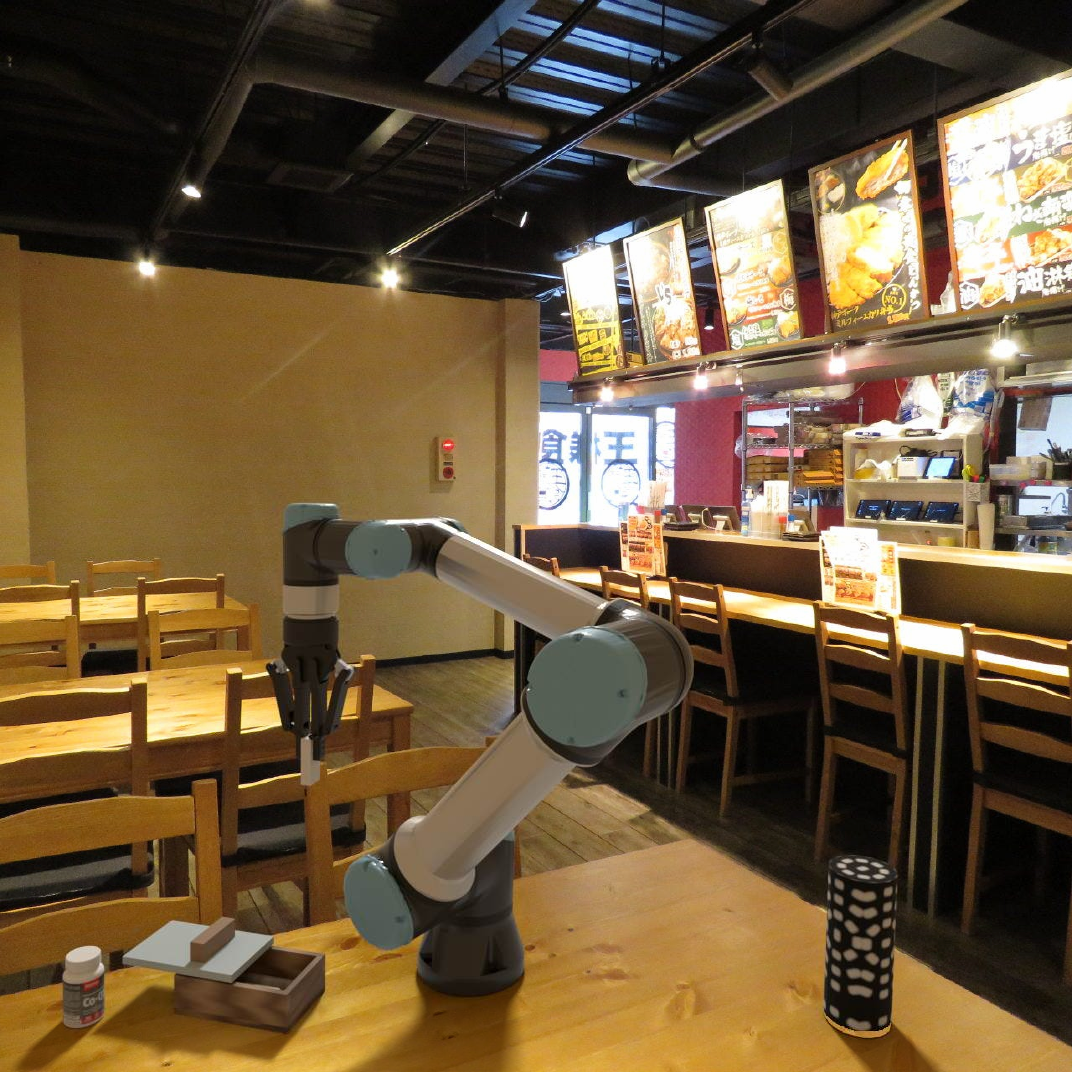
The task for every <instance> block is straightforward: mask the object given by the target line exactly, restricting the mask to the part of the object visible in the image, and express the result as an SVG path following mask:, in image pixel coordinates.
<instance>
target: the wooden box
mask: <svg viewBox="0 0 1072 1072" xmlns="http://www.w3.org/2000/svg"><path fill="white" fill-rule="evenodd" d="M173 979H174V980H173V983H174V985H173V987H174V988H173V989H174V990H173V991H174V993H173V994H174V995H173V999H174V1003H173V1004H174V1006H173V1007H174V1010H173V1011H174V1012H173V1013H174V1014H178V1015H184V1016H189V1017H193V1018H194V1017H195V1018H198V1019H205V1020H209V1021H213V1022H214V1021H215V1022H219V1023H220V1022H221V1023H226V1024H232V1025H236V1026H241V1027H243V1026H244V1027H246V1028H252V1029H258V1030H262V1031H267V1032H272V1033H273V1032H274V1033H279V1034H285V1035H287V1034H288V1033H289V1032H291V1030H292V1029H293V1028H294V1026H295V1025H296V1024H297V1023H298V1022H299V1020H300V1019H301V1018H302V1017H303V1016H304V1015H305V1014H306V1013H307V1012H308V1010H309V1009H310V1008H311V1007H312V1006H313V1004H315V1003H316V1001H317V1000H318V999H319V998H320V997H321V996H322V994H323V993H324V992H325V991H326V953H321V952H315V951H309V950H303V949H297V948H290V947H285V946H278V945H274V944H273V945H272V946H271V947H270V948H269V949H267V950H266V951H265V952H264V953H263V954H262V955H261V956H260V957H259V958H258V959H257V960H256V961H255V962H253V963H252V964H251V965H250V966H249V967H248V968H247V969H246V970H245V971H244V972H243V973H242V974H241V975H240V976H238V977H237V978H236V979H235V980H234V981H233V982H232V983H229V982H223V981H217V980H212V979H206V978H200V977H195V976H189V975H183V974H178V973H174V975H173Z"/></svg>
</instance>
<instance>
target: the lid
mask: <svg viewBox="0 0 1072 1072" xmlns="http://www.w3.org/2000/svg"><path fill="white" fill-rule="evenodd" d="M274 944H275V936H273V935H268V934H261V933H257V932H256V933H254V932H248V931H243V930H238V929H236V918H233V917H227V916H221V917H220V918H218V919H217V920H216V921H215V922H213V923H212V924H211V925H206V924H205V925H204V924H198V923H192V922H187V921H179V920H173V919H172V920H171V921H168V922H167V923H166V924H165V925H163V926H162V927H161V928H159V929H158V930H156V931H155V932H154V933H153V934H151V935H149V936H148V937H146V939H144V940H143V941H142V942H140V943H139V944H137V945H136V946H135V947H134V948H132V949H130V950H129V951H128V952H127V953H125V954H124V955H122V964H123V965H128V966H133V967H138V968H143V969H150V970H155V971H162V972H166V973H173V974H176V973H178V974H183V975H189V976H195V977H200V978H206V979H212V980H217V981H223V982H229V983H232V982H233V981H234V980H235V979H236V978H237V977H238V976H240V975H241V974H242V973H243V972H244V971H245V970H246V969H247V968H248V967H249V966H250V965H251V964H252V963H253V962H255V961H256V960H257V959H258V958H259V957H260V956H261V955H262V954H263V953H264V952H265V951H266V950H267V949H269V948H270V947H271V946H272V945H273V946H274Z"/></svg>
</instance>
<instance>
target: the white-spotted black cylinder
mask: <svg viewBox="0 0 1072 1072" xmlns="http://www.w3.org/2000/svg"><path fill="white" fill-rule="evenodd" d="M898 873H899V872H898V871H897V870H896V869H895V868H894V867H893V866H892V865H891V864H889V863H887V862H885V861H882V860H879V859H877V858H875V857H874V858H873V857H870V856H869V857H868V856H864V855H857V854H856V855H854V854H851V855H849V854H846V855H844V854H843V855H839V856H835V857H833V858H832V859H830V860H829V862H828V874H827V875H828V876H827V877H828V879H827V880H828V881H827V882H828V883H827V901H826V902H827V903H826V904H827V907H826V928H825V952H824V953H825V957H824V958H825V960H824V978H823V979H824V983H823V984H824V985H823V987H824V988H823V1006H822V1008H824V1012H825V1014H826V1016H828V1017H829V1018H830V1019H831V1020H832V1021H833V1022H835V1023H836V1024H838V1025H840V1026H844V1027H845V1028H848V1029H851V1030H854V1031H879V1030H883V1029H884V1028H886V1027H888V1026H889V1025H890V1023H891V1024H892V1020H891V1019H893V1018H892V1017H893V1015H892V1014H893V991H894V969H895V968H894V967H895V945H896V920H897V902H898V901H897V898H898V895H897V894H898V876H899V875H898Z"/></svg>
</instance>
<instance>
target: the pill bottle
mask: <svg viewBox="0 0 1072 1072" xmlns="http://www.w3.org/2000/svg"><path fill="white" fill-rule="evenodd" d="M64 961H65V962H64V963H65V965H64V966H65V970H64V971H63V972H62V1022H63V1024H64V1025H65V1026H66V1027H68V1028H72V1029H81V1028H86V1027H89V1026H92V1025H94V1024H96V1023H98V1022H99V1021H100V1020H101V1019H102V1018H103V1017H104V1015H105V1010H106V1007H105V1005H106V1004H105V966H104V964H103V963H102V950H101V948H100V947H98V946H96V945H95V946H94V945H84V946H80V947H77V948H75V949H72V950H71V951H69V952H68V953H66V955H65V960H64Z"/></svg>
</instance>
